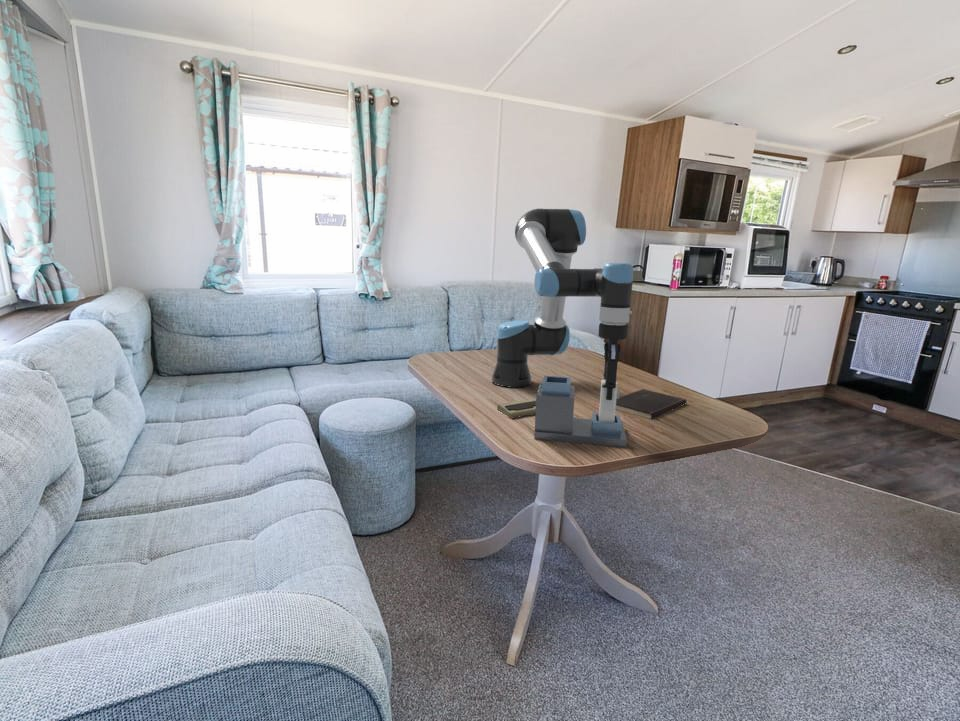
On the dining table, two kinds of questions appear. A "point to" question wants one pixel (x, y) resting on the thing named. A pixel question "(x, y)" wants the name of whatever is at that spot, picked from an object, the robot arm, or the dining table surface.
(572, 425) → the stepped holder stand
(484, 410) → the dining table surface
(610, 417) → the plug
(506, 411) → the olive rectangular tray
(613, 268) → the robot arm
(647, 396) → the hardcover book
